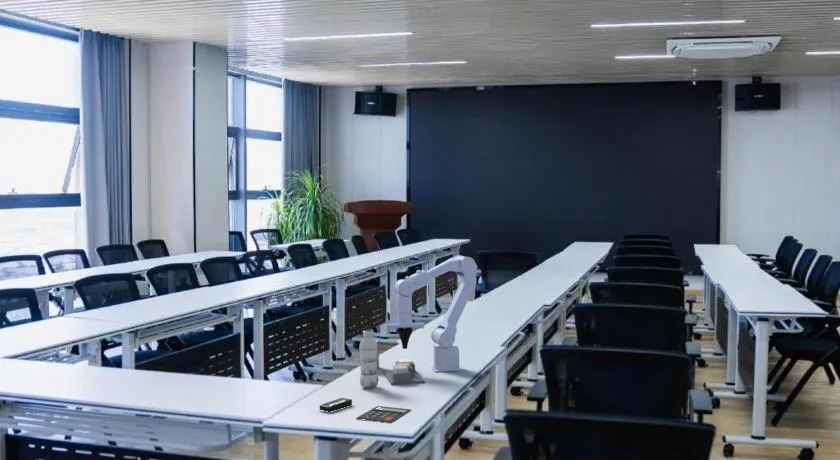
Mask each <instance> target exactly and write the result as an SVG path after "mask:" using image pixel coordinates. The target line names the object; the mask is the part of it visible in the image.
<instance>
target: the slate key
mask: <svg viewBox="0 0 840 460" xmlns="http://www.w3.org/2000/svg"><path fill="white" fill-rule="evenodd" d="M393 366H394V373H395V374H399V373H408V367H407V366H406V365H404V366H396V365H393Z"/></svg>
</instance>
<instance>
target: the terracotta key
mask: <svg viewBox="0 0 840 460" xmlns="http://www.w3.org/2000/svg"><path fill="white" fill-rule="evenodd" d="M404 365H406V366H407V367H408V369H409V368H410V365H409V364H408V363H400V364H396V363H395V366H404Z"/></svg>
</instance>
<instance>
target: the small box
mask: <svg viewBox="0 0 840 460" xmlns="http://www.w3.org/2000/svg"><path fill="white" fill-rule="evenodd" d="M375 341H376V342H377V345H378V348H377V359H376V366H377V369H379V368H380V342H379V340H376V339H375ZM359 357H360V358H359V360H360V361H359V362H360V365H359V366H361V355H360V354H359Z"/></svg>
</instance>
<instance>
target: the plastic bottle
mask: <svg viewBox="0 0 840 460" xmlns="http://www.w3.org/2000/svg"><path fill="white" fill-rule="evenodd" d="M374 336H375V335H374V330H373V329H364V330H362V337H363V338H362V339H361V341H360V343H359V346H358V347H359V356H360V355H361V365H360V377H359V384H360V386H361V387H362V388H365V389H372V388H373V389H374V388H376V387H377V386H378V385H379V375H378V368H377V366H376V359H377V348H378V345H377V342H376V341H375V340H376V339H375V338H374Z"/></svg>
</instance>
